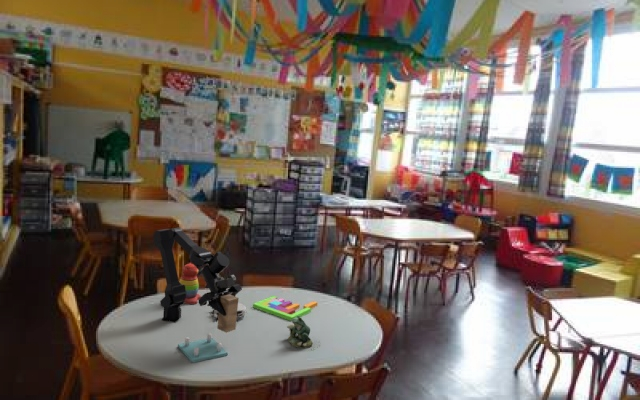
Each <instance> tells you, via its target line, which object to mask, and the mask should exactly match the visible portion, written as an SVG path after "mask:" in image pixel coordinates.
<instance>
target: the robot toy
mask: <svg viewBox="0 0 640 400" xmlns="http://www.w3.org/2000/svg"><path fill="white" fill-rule="evenodd" d="M211 309H212V311H211V313H212V314H213V317H214V318H218V315H219V312H218V311H217V310H215V309H214V308H212V307H211ZM246 310H247V308H246V305H244V304H243V301H240V302H238V309H237V319H239V318H241V317H243V316H245V315H246V314H247V311H246Z"/></svg>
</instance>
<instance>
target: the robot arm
mask: <svg viewBox="0 0 640 400" xmlns="http://www.w3.org/2000/svg"><path fill="white" fill-rule="evenodd" d="M152 239H153V243H154V245H155V247H156V248H157V250H159V253H160V256H161V261H162V267H163V271H164V276H165V281H166V285H165V288H164V297H162V299H161V300H160V301H159V303H160V306H161V307H162V308H163V315H162V318H161V321H162V322H163V321H164V322H173V323H177V322H178V321H179V320H180V319H181V318H182V307H181V305H184V304H185V303H184V301H185V298H186V294H187V292H186V290H185V285H182V284H181V283H180V282H179V281H180V279H179V277H178V269H177V267H176V260H175V256H174V250H173V247H174V244H175V242H176V243H177V244H178V245H179V246H180V247H181V248H182V249H183V250H184V251H185V252H186V253H187V254H188V255H189V257H188V258H189V260H190V263H191V264H194V266H196V267H197V268H198V267H201V268H198V270H199V272H198V274H197V277H198V276H202V277H203V279H204V281H205V284H206V285H205V288H206V289H209V291H208V292H206V293H203V294H202V295H201V297H200V298H199V299H198V304H199V306H200V307H203V306H206V305H207V307H210V308H211V309H212V308H214V309H215V310H217V311H218V312H219V313H221V314H222V315H223V316H226V312H225V310H224V308H223V306H222V304H221V296H225V295H229V294H230V295H233V296H235V297H236V295H237V294H239V293H240V292H241V291H242V290H243V288H242V286H241V284H239V283H238V284H237V277H236V276H235V274H231V275H228V277H227V278H224V277H223V276H220V273H222V272H223V271H224V270H225V269H226V268H227V267H228V266H229V265H230V259H229V257H227V255H225V254H223V253H222V252H221V251H217V252H216V253H215V254H212V252H211V251H210V250H208V249H206V248H205V247H201V246H199V244H197V243H196V242H194V240H193V239H191V237H190V236H189V235H187V234H186V233H185V232H184V230H183V228H181V227H174V228H164V229H158V230H157V229H156V230H155V231H154V232H153V234H152ZM235 283H236V284H235ZM214 309H213V310H214Z"/></svg>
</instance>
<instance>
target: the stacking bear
mask: <svg viewBox="0 0 640 400" xmlns="http://www.w3.org/2000/svg"><path fill="white" fill-rule="evenodd" d="M198 272H199V268H198V267H196V266H194V264H193V263H192V262H188V263H187V264H185V265H183V267H182V274H183V275H181V276H180V279H179V282H180V283H181V284H182V285H185V290H186V292H187V294H186V298H185V301H184V304H188V305H197V304H199V298H200V297H202V295H201V294H199V293H198V292H199V287H200V285H199V284H200V283H199V279H198Z"/></svg>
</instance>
